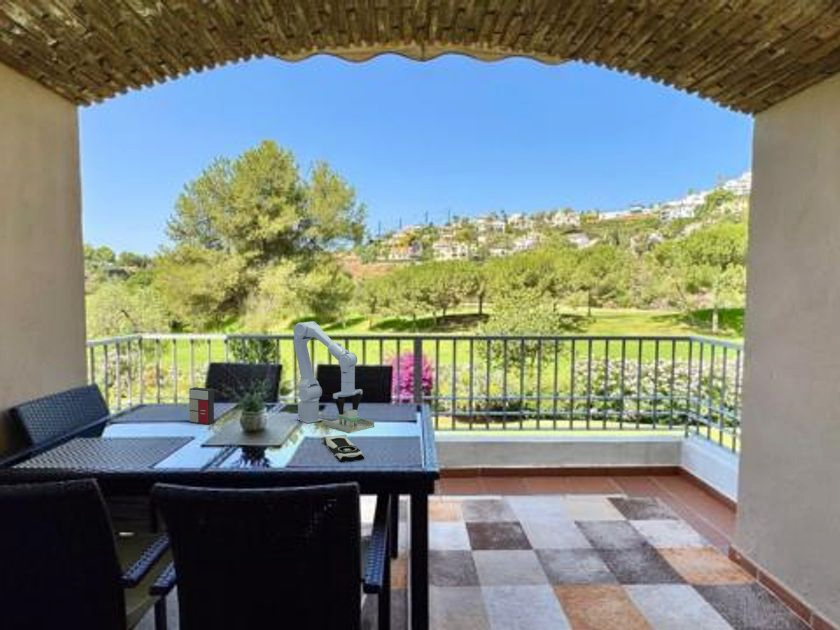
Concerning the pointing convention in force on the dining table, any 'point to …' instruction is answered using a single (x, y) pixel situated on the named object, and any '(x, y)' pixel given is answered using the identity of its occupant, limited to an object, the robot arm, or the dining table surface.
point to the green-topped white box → (349, 415)
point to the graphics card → (342, 448)
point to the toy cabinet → (201, 405)
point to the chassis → (349, 424)
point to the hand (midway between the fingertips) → (348, 412)
